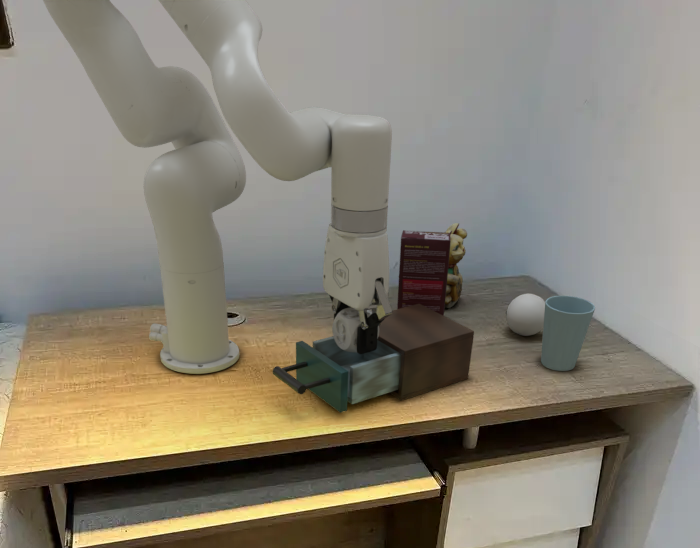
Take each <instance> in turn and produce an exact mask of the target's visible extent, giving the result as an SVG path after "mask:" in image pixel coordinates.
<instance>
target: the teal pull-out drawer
mask: <svg viewBox="0 0 700 548" xmlns="http://www.w3.org/2000/svg"><path fill="white" fill-rule="evenodd" d="M400 365H401V354H400V353H399V352H397V351H395V350H393V349H392V348H390V347H388V346H387V345H385V344H383V343H382V342H380V341H378V340H377V349H376V350H375V351H371V352H368V353H364V354H359V353H353V352H347V351H344V350H342V349H341V348H340V347H339V346H338V345H337V343H336V342H335V339H334V336H333V335H332V336H328V337H324V338H321V339H317V340H313V341H312V346H311V344H308V343H306V342H305V341H303V340H299V341H296V342H295V363H294V364H291V365H287V366H284V367H281V366H279V365H276V366H274V367H273V369H272V375H274V376H275V377H276V378H278V380H280V381H282V382H283V383H284V384H285V385H287V386H288V387H289V388H291V389H292V390H293V391H295V392H296V393H297V394H299V395H304V394H305V393H306V392H307V390H309V391H310V392H311V393H313V394H314V395H316V396H317V397H318V398H320V399H321V400H322V401H324V402H325V403H327V404H328V405H329V406H330V407H332V408H333V409H334V410H336V411H337V412H339V413H340V414H341V413H344V412H347V411H348V403H349V404H351V405H355V404H358V403H361V402H364V401H367V400H370V399H373V398H376V397H379V396H383V395H386V394H390V393H389V392H392V391H395V390H398V389H399V378H400ZM293 371H295V377H294V376H293V375H291V373H290V372H293Z"/></svg>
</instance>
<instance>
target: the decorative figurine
mask: <svg viewBox="0 0 700 548" xmlns="http://www.w3.org/2000/svg"><path fill="white" fill-rule="evenodd" d="M459 226H460V223H458V222H455V223H452V224H450V225H449V226H448V228H447V229H446V230H445V231H444V232H443V233H450V238H451V244H450V255H449V265H448V277H447V288H446V299H445V309H450V308H451V307H453V306H454V305H455V304H456V303H457V302H458V300H459V299H460V297H461V294H462V292H463V282H464V281H463V274H462V273H461V272H460V269H459V266H458V265H457V264H459V263H460V262H461V261H462V260H463V258H464V257H465V255H466V253H467V252H466V248H465V246H464V239H467V238H468V231H467V230H466V229H465V228H462V227H459Z"/></svg>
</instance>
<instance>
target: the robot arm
mask: <svg viewBox="0 0 700 548" xmlns="http://www.w3.org/2000/svg"><path fill="white" fill-rule="evenodd" d="M42 1H43V4H44V5H45V8H46V10H47V11H48V13H49V15H50V17H51V19H52V20H53V21H54V23H55V25H56V26H57V28H58V30H59V31H60V32H61V34H62V35H63V37H64V38H65V40H66V41H67V43H68V44H69V46H70V47H71V49H72V50H73V52H74V53H75V55H76V56H77V59H78V60H79V62H80V63H81V65H82V67H83V69H84V71H85V73H86V76H87V77H88V79H89V80H90V82H91V84H92V86H93V88H94V89H95V91H96V92H97V94H98V97H99V98H100V100H101V102H102V103H103V105H104V107H105V109H106V110H107V112H108V113H109V116H110V117H111V119H112V121H113V122H114V124H115V126H116V128H117V129H118V131H119V132H120V134H121V135H122V137H123V138H124V140H126V141H127V142H128V143H130V144H131V145H132V146H134V147H137V148H142V149H144V148H145V149H146V148H153V147H157V146H162V145H167V144H169V143H171V144H172V146H173V147H174V149H172V150H170V151H167V152H164V153H162V154H161V155H159V156H158V157H157V158H155V159H154V160H153V161H152V162H151V164H150V165H149V166H148V168H147V169H146V172H145V175H144V178H143V194H144V200H145V204H146V208H147V209H148V212H149V216H150V219H151V222H152V227H153V230H154V236H155V243H156V248H157V255H158V264H159V270H160V278H161V287H162V298H163V305H164V315H165V322H166V325H164V324H160V323H156V322H153V323H151V325H150V328H149V333H148V339H149V340H150V341H152V342H153V341H154V342H161V344H162V346H163V347H162V348H161V350H160V353H159V356H160V362H161V363H162V365H163V366H165V368H167V369H169V370H171V371H174V372H176V373H177V372H178V373H182V374H189V375H190V374H191V375H201V374H210V373H217V372H219V371H223V370H225V369H228V368H230V367H232V366H233V365H235V364H236V363H237V362H238V360H239V359H240V348H239V345H237V343H236V342H234V341H233V340H231V339H230V336H229V321H228V320H229V319H228V308H227V306H228V305H227V293H226V291H227V289H226V278H225V275H226V274H225V262H224V251H223V250H224V249H223V244H222V240H221V236H220V234H219V231H218V229H217V226H216V224H215V221H214V218H213V213H214V212H217V211H218V210H221V209H222V208H225V207H227V206H228V205H231V204H232V203H234V202H235V201H237V200H238V199H239V198H240V197H241V195H242V194H243V193H244V190H245V188H246V183H247V171H246V166H245V162H244V160H243V157H242V154H241V152H240V150H239V148H238V146H237V144H236V142H235V140H234V139H233V137H232V134H231V132H230V131H229V129H230V130H231V131H232V133H233V134H234V136H235V137H236V138H237V140H238V141H239V142H240V143H241V145H242V146H243V148H244V149H245V150H246V151H247V153H248V154H249V155H250V157H251V158H252V159H253V160H254V161H255V162H256V163H257V165H258V166H259V167H260V168H261V169H262V170H263V171H264V172H266V173H267V175H269V176H271V177H272V178H274V179H276V180H278V181H279V180H280V181H283V182H294V181H298V180H300V179H302V178H305V177H307V176H309V175H311V174H313V173H315V172H319V171H323V170H325V169H328V168H331V170H330V171H331V172H330V173H331V174H330V175H331V179H330V180H331V181H330V183H331V184H330V186H331V192H330V194H331V196H330V198H331V199H330V222H329V224H328V227H327V232H326V236H325V244H324V253H323V267H322V269H323V272H322V288H323V290H324V292H325V293H326V294H328V296H329V299H330V300H331V311H332V312H333V320H334V319H335V317H336V316H337V314H338V313H339V312H340V311H341V310H343V309H346V308H351V307H352V308H354V309H356V310H359V317H360V324H361V327H358V332H357V353H359V354H364V353H368V352H371V351H375V350H376V349H377V336H378V326H380V325H381V322H382V321H383V320H384V319H385V318H387V317H388V316H389V315H391V314H392V310H393V309H392V306H391V303H390V301H389V299H388V298H389V292H390V291H389V290H390V249H389V239H388V233H387V230H388V216H389V215H388V213H389V198H390V197H389V196H390V195H389V194H390V179H391V178H390V177H391V159H392V143H393V130H392V125H391V123H390V122H389V121H388V119H386V118H384V117H382V116H379V115H373V114H363V113H362V114H360V113H359V114H358V113H357V114H355V113H354V114H347V113H343V112H340V111H335V110H333V109H328V108H325V107H320V106H309V107H305V108H301V109H297V110H294V111H291V112H289V110H288V109H287V108H286V106H285V105H284V104H283V103H282V101H281V100H280V99H279V97H278V95H276V93H275V92H274V90H273V89H272V87H271V85H270V84H269V82H268V80H267V79H266V77H265V75H264V71H263V70H262V68H261V64H260V60H259V44H260V41H261V39H262V35H263V25H262V21H261V19H260V17H259V16H258V15H257V13H256V12H255V11H254V10H253V8H252V7H251V6H250V4H249V2H248V1H247V0H158V2H159V3H160V4H161V6H162V7H163V8H164V10H165V11H166V12H167V14H168V16H170V17H171V19H172V20H173V22H174V23H175V24H176V25H177V27H178V28H179V29H180V31H181V32H182V33H183V34H184V36H185V37H186V39H187V40H188V41H189V43H190V44H191V45H192V46H193V48H194V49H195V50H196V53H198V54H199V56H200V57H201V59H202V60H203V61H204V63H205V64H206V65H207V67H208V69H209V71H210V74H211V80H212V86H213V89H214V93H215V96H216V99H217V102H218V105H219V107H220V110H221V113H222V115H223V117H222V115H221V113H220V112H219V108H218V107H217V105H216V104H215V101H214V99H213V97H212V96H211V94H210V92H209V91H208V89H207V88H206V87H205V85H204V84H203V82H201V80H200V79H199V78H198V77H197V76H196V75H195V74H193V73H192V72H190V71H189V70H187V69H185V68H182V67H179V66H173V65H172V66H171V65H169V66H159V67H158V66H157V65H156V64H155V63H154V62H153V60H152V58H151V57H150V55H149V53H148V52H147V49H146V48H145V47H144V44H143V42H142V40H141V38H140V36H139V34H138V33H137V31H136V29H135V28H134V27H133V25H132V24H131V22H130V21H129V20H128V19H127V18H126V17H125V15H124V14H123V13H122V12H121V11H120V10H119V9H118V8H117V7H116V5H114V4H113V3H112V2H111V0H42ZM223 118H224V119H223ZM225 122H226V123H225ZM226 124H227V125H228V127H229V129H228V127H227V125H226ZM367 310H370V311H371V312H372V314H371V315H370V316H369V317H367Z"/></svg>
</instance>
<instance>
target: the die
mask: <svg viewBox="0 0 700 548" xmlns="http://www.w3.org/2000/svg"><path fill="white" fill-rule="evenodd" d="M371 314H372V310H371V309H370V310H367V317H369V316H370V315H371ZM358 327H361V324H360V317H359V310H356V309H354V308H352V307H351V308H346V309H343V310H341V311H340V312H339V313H338V314H337V316H336V317H335V319H334V318H333V322H332V329H331V330H332V336H334V339H335V342H336V343H337V345H338V346H339V347H340V348H341V349H342V350H344V351H347V352H353V353H357V332H358ZM378 336H379V326H378ZM378 336H377V339H378Z"/></svg>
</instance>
